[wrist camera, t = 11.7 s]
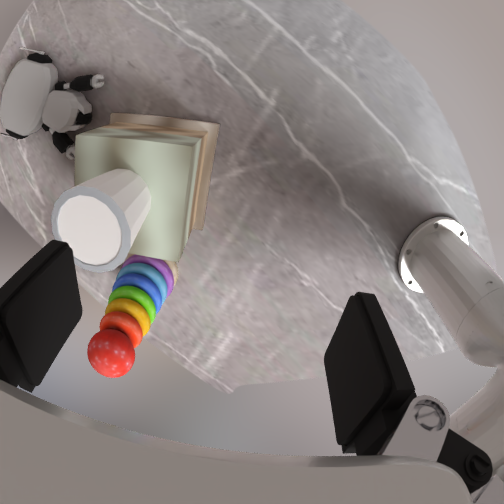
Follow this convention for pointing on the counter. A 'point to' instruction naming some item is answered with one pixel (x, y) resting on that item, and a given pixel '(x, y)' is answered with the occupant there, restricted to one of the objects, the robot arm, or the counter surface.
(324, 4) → the counter surface
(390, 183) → the counter surface
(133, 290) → the stacking toy
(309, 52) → the counter surface
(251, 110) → the counter surface
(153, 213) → the patterned box
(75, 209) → the shot glass
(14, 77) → the robot toy
